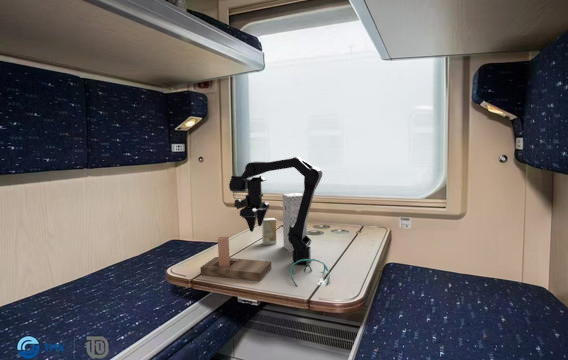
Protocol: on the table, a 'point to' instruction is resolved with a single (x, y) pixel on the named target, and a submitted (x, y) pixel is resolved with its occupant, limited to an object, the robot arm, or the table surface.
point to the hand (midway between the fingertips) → (255, 228)
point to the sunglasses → (310, 268)
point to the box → (290, 215)
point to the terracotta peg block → (223, 251)
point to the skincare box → (269, 231)
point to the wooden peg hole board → (237, 269)
